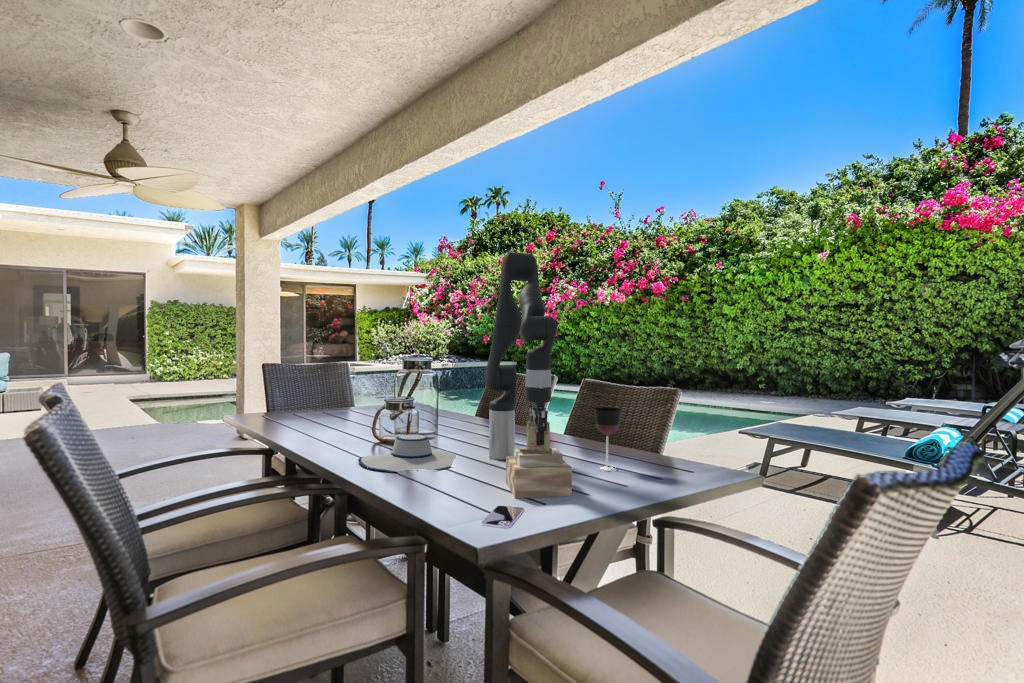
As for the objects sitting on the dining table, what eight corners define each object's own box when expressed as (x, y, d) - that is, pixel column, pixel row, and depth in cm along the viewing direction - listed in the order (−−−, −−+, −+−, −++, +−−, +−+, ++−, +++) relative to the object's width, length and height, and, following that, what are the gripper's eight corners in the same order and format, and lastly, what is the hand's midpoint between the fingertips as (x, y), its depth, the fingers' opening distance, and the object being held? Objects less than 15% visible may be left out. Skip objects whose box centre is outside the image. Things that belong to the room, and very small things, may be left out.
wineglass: (620, 472, 190) (620, 411, 189) (593, 471, 192) (593, 410, 191) (620, 466, 198) (621, 407, 197) (594, 465, 199) (595, 407, 199)
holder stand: (505, 482, 177) (506, 446, 176) (557, 480, 179) (557, 445, 179) (515, 498, 161) (515, 458, 161) (571, 495, 164) (571, 456, 163)
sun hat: (370, 480, 181) (370, 451, 181) (350, 456, 214) (349, 431, 214) (478, 468, 197) (478, 441, 196) (444, 447, 229) (444, 424, 229)
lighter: (551, 449, 170) (552, 415, 170) (546, 452, 166) (546, 417, 166) (529, 447, 173) (530, 413, 173) (524, 449, 170) (524, 415, 170)
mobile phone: (525, 506, 151) (509, 526, 137) (525, 510, 152) (509, 530, 137) (497, 504, 154) (478, 523, 139) (497, 508, 154) (478, 527, 139)
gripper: (520, 382, 176) (520, 438, 176) (530, 387, 162) (530, 448, 162) (545, 382, 177) (544, 438, 178) (557, 387, 163) (556, 447, 163)
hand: (537, 442), depth 170 cm, fingers closed on lighter, 5 cm apart
